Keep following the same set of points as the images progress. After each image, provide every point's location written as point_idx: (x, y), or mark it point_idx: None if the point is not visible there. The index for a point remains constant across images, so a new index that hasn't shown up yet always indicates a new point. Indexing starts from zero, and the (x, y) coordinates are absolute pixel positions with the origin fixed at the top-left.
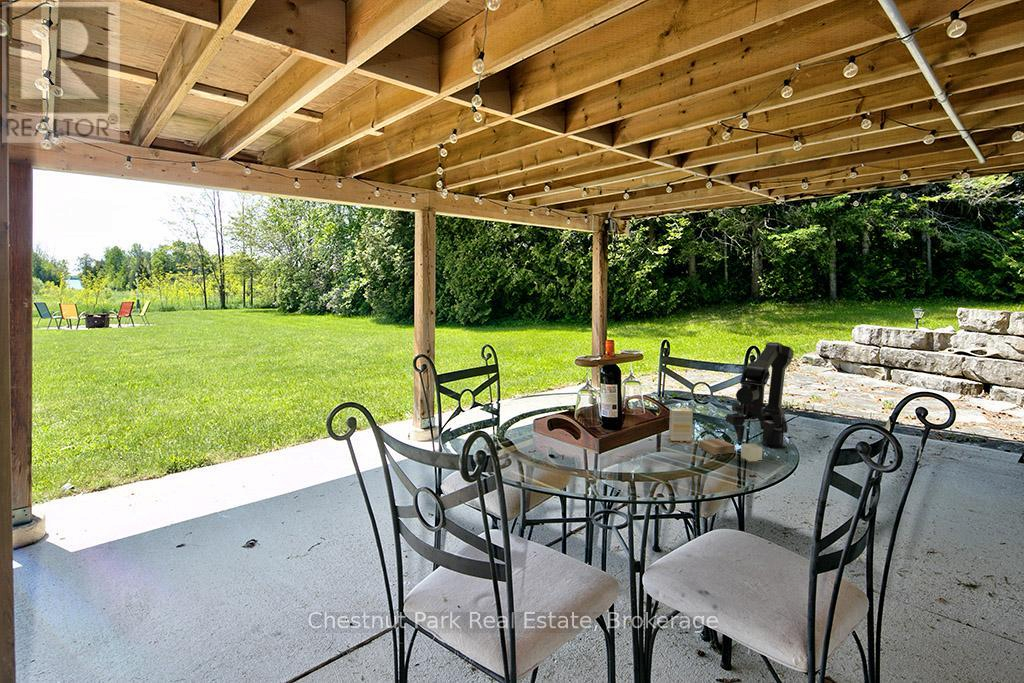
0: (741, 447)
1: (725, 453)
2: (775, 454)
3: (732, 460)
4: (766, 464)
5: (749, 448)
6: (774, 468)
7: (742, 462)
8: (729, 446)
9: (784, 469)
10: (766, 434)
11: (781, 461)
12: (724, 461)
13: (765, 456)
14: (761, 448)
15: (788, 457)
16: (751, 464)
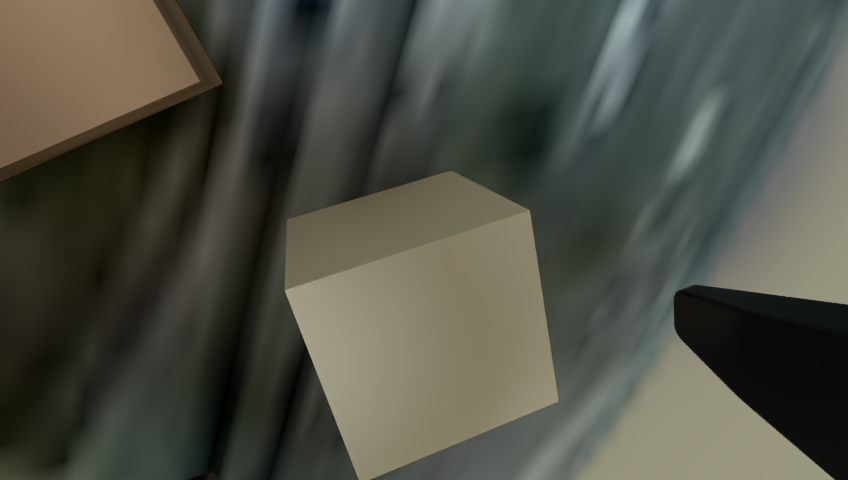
0: (286, 263)
1: (59, 153)
2: (715, 53)
3: (144, 381)
4: None
5: (359, 476)
6: (509, 472)
7: (257, 412)
8: (80, 133)
9: (575, 468)
10: (835, 455)
11: (652, 278)
12: (26, 444)
13: (581, 147)
14: (538, 401)
15: (774, 141)
16: (340, 441)
